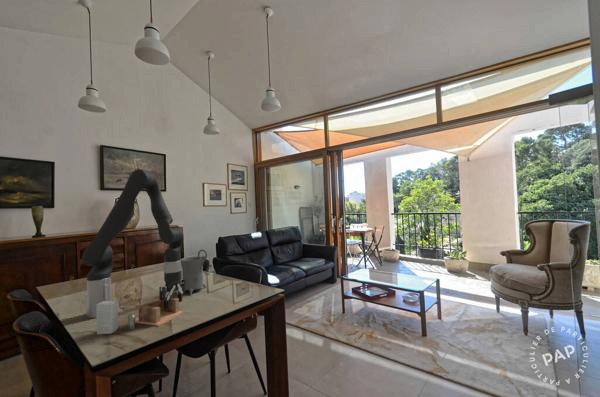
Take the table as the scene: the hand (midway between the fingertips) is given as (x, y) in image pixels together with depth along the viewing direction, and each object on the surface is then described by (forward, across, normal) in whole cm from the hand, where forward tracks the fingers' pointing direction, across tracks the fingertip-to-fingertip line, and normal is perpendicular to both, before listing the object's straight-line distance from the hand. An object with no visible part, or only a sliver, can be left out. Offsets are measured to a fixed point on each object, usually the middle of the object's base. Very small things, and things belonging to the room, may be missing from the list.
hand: (173, 304), depth 125 cm
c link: (+3, +5, -3) cm, 7 cm away
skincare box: (+4, +22, -13) cm, 26 cm away
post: (+4, +18, -5) cm, 19 cm away
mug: (+4, -30, -14) cm, 34 cm away
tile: (+4, +6, -4) cm, 8 cm away
